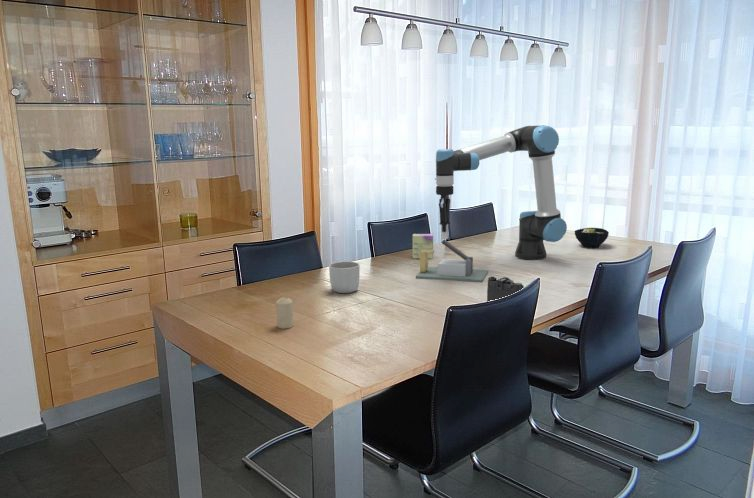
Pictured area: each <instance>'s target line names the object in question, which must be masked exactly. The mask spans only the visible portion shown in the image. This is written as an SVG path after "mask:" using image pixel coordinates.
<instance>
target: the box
mask: <svg viewBox="0 0 754 498" xmlns="http://www.w3.org/2000/svg"><path fill="white" fill-rule="evenodd" d="M422 250H434V234H433V233H413V234H412V259H420V252H421V251H422ZM429 259H432V260H433V259H434V253H433V254H428V260H429Z"/></svg>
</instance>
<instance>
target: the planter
mask: <svg viewBox="0 0 754 498" xmlns="http://www.w3.org/2000/svg"><path fill="white" fill-rule="evenodd" d="M328 268H329V283H330V287H331V290H332V291H334V292H335V293H338V294H350V293H354V292H355V291H357V290H358V289H359V287H360V263H358V262H355V261H336V262H332V263H330V264H329V265H328Z"/></svg>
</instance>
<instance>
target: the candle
mask: <svg viewBox="0 0 754 498" xmlns="http://www.w3.org/2000/svg"><path fill="white" fill-rule="evenodd" d="M275 308H276V310H275V311H276V312H275V313H276V327H277V328H279V329H291V328H292V327H294V325H295V324H294V309H293V308H294V307H293V300H292V299H291V298H290V297H287V296H282V297H280V298H279V299H277V300H276V302H275Z"/></svg>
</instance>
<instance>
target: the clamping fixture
mask: <svg viewBox="0 0 754 498" xmlns="http://www.w3.org/2000/svg"><path fill="white" fill-rule="evenodd" d="M468 257H469V258H471V259H472V261H471V260H470V259H466V261H465V260H464V259H450V258H442V259H441V260H440V261H439V262H438V263H437V267H436V266H428V270H427V271H426V272H420V271H419V272H418V273H417V274H416V275H415V279H423V280H437V281H438V280H440V281H441V280H442V281H457V282H468V283H469V282H470V283H471V282H473V283H474V282H475V283H483V282H484V280H485V278H486V276H487V275H488V273H489V269H475V268H474V257H473V256H468Z"/></svg>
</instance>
